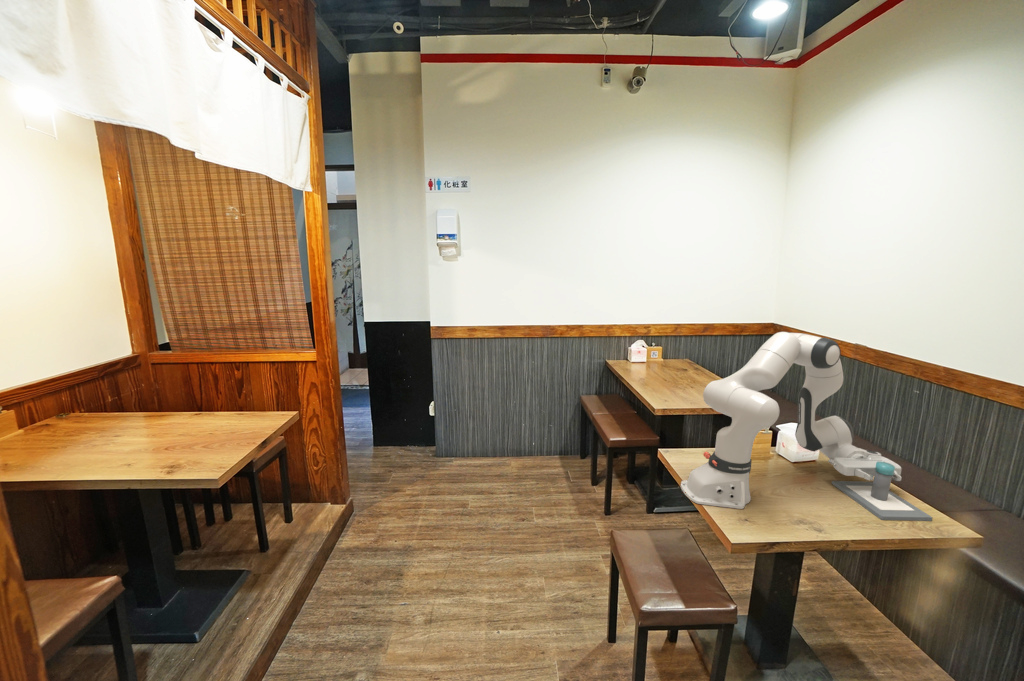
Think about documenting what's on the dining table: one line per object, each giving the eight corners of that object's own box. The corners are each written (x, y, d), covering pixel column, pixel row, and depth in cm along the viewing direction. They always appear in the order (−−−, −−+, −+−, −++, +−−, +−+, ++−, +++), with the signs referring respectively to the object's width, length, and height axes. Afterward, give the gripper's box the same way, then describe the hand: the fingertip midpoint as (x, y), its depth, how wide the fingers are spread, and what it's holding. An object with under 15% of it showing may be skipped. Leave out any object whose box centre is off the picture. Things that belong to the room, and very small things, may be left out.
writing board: (881, 519, 137) (882, 515, 137) (831, 483, 159) (832, 480, 159) (931, 520, 137) (932, 516, 137) (875, 484, 159) (876, 481, 158)
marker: (877, 501, 145) (884, 468, 143) (866, 493, 150) (872, 461, 148) (891, 501, 145) (898, 468, 143) (879, 493, 150) (886, 461, 148)
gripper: (826, 451, 158) (855, 469, 145) (882, 452, 158) (916, 470, 145) (823, 467, 160) (852, 486, 146) (879, 468, 160) (913, 487, 146)
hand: (885, 478), depth 145 cm, fingers open, 8 cm apart
